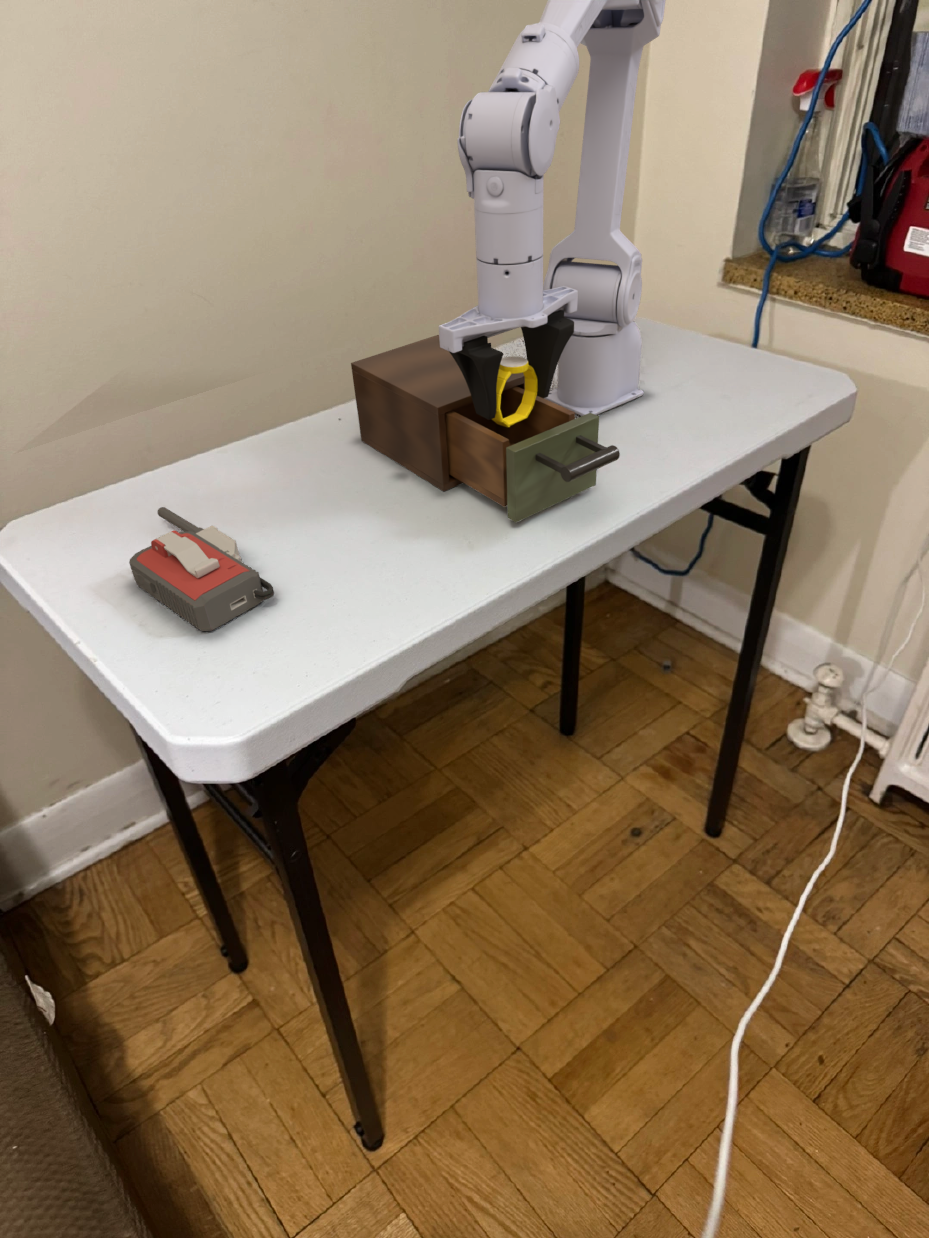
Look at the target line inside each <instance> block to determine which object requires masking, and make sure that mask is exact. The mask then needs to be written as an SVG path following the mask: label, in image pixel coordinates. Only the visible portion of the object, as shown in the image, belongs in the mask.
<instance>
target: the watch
mask: <svg viewBox="0 0 929 1238" xmlns="http://www.w3.org/2000/svg"><path fill="white" fill-rule="evenodd" d="M522 372H523V374H524V377H525V391H524V395H523V398H522V402H521V404H520V406H519V407H518V409H517V411H516V412H515V414H512V415H510V416H508V417H506V418H503V417H502V413H501V410H500V404H501V394H502V391H503V388H504V386H505V383H506V381H507V379H508V378H509V377H510V375H511V374H517V373H522ZM536 396H537V376H536V374H535V371H534V369H533V367H531V366H530V365H528V360H527V358H525V357H522V356H515V355H514V356H510V355H509V356H505V357H502V360H501V363H500V367H499V371H498V377H497V387H496V414H495V418H493V419H492V420H493V421H494V422H496V423H497V424H499V425H502V426H505V427H510V426H511V425H514V424H515V423H517V422H520V421H522V420H524V419H526V418H527V417H528V415H529V414H530V412H531V410H532V409H533V406H534V403H535V400H536Z"/></svg>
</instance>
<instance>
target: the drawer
mask: <svg viewBox="0 0 929 1238" xmlns="http://www.w3.org/2000/svg"><path fill="white" fill-rule="evenodd" d="M524 391H525V390H524V389H522V388H519V387H517V386H515V387H512V388H510V389H507V390H504V391H502V394H501V404H500V410H501V413H502V417H503V418H506V417H508V416H510V415H512V414H515V412H516V411H517V409H518V407H519V406H520V404H521V402H522V398H523V395H524ZM445 426H446V441H447V455H448V469H449V475H451V476H453V477H454V478H456V479H458V480H459V481H461V482H463V484H465V485H466V486H467V487H469V488H471V489H473V490H475V491H476V492H478V493H480V494H482V495H483V496H485V497H486V498H488V499H490V500H492V501H493V502H495V503H497V504H498V505H500V506H501V507H504V508H506V507H507V508H506V509H507V519H509V520H510V521H512V522H514V523H515V524H516V523H519V522H520V521H523V520H525V519H527V518H529V517H531V516H533V515H535V514H537V513H540V512H542V511H544V510H546V509H548V508H550V507H552V506H554V505H557V504H559V503H561V502H563V501H565V500H567V499H569V498H571V497H574V496H575V495H577V494H580V493H582V492H585V491H586V490H589V489H591V488H593V487H595V486H596V485H597V470H598V469H601V468H602V467H605V466H607V465H608V464H612V463H614V462H617V460H619V458H620V456H621V454H620V453H621V452H620V449H619V448H618V447H617V446H616V445H613V444H612V445H609V446H604V445H602V444H600V443H599V431H600V429H599V428H600V416H599V415H598V414H597V415H595V414H592V413H588V414H586V415H583V416H579V417H576V413H575V412H573V411H571V410H569V409H566V408H564V407H562V406H560V405H557V404H555V403H553V402H551V401H549V400H546V399H544V398H541V397H539V396H536V400H535V403H534V406H533V409H532V410H531V412H530V414H529V415H528V417H527V418H526V419H524V420H522V421H520V422H517V423H515V424H514V425H511V426H510V427H505V426H502V425H499V424H497V423H496V422H494V421H493V420H492V419H490V420H488V419H486V418H484V417H482V416H480V415H478V414H476V411H475V407H474V404H473V402H472V403H470V404H467V405H464V406H462V407H459V408H457V409H454V410H451V411H449V412H446V413H445Z"/></svg>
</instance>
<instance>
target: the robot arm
mask: <svg viewBox="0 0 929 1238" xmlns="http://www.w3.org/2000/svg"><path fill="white" fill-rule="evenodd" d="M666 1H667V0H547V1H546V4H545V6H544V8H543V12H542V14H541V16H540V19H539V21H538V22H536V23H531V24H526V25H525V27H524V28H523V29H522V30H521V31H520V33H519V34H517V37H516V38H515V40H514V42H513V45H512V46H511V48H510V50H509V52H508V53H507V56H506V57H505V59H504V62H503V63H502V65H501V67H500V69H499V70H498V72H497V74H496V76H495V78H494V80H493V81H492V83H491V85H490V87H489V89H488V91H481V92H477V93H476V94H475V95H474V96H473V98H472V99H469V100H468V101H467V102H466V103H465V105H464V106H463V108H462V111H461V115H460V119H459V123H458V125H459V126H458V137H457V138H456V141H457V142H456V143H457V151H458V156H459V160H460V163H461V166H462V168H463V170H464V175H465V183H466V192H467V193H468V197H469V198H471V199H472V200H473V212H474V213H473V215H474V237H475V260H476V261H475V263H476V282H477V283H476V285H477V286H476V287H477V305H476V306H474V307H472V308H471V309H469V310H467V311H466V312H463V313H462V314H460V315H459V316H457V317H455V318H453V319H452V320H450V321H447V322H445V323H442V324H439V325H438V335H439V340H440V347H441V348H443V349H445V350H447V351H449V352H450V354H451V355H452V357H453V358H454V360H455V361H456V363H457V365H458V366H459V368H460V370H461V372H462V374H463V376H464V378H465V380H466V383H467V385H468V388H469V391H470V394H471V397H472V400H473V404H474V407H475V411H476V414H478V415H480V416H482V417H484V418H486V419H488V420H490V419H493V418H495V414H496V387H497V377H498V371H499V367H500V363H501V360H502V358H504V357H503V356H504V352H503V351H501V350H498V349H495V348H493V347H492V342H489V339H488V338H492V337H496V336H498V335H502V334H504V333H507V332H509V331H513V330H516V329H519V328H520V329H521V333H522V338H523V342H524V348H525V354H526V359H527V360H528V365H530V366H531V367H533V369H534V371H535V374H536V376H537V396H539V397H541V398H544V399H546V400H549V401H551V402H553V403H555V404H557V405H560V406H562V407H564V408H566V409H569V410H571V411H573V412H575V415H577V416H579V417H581V416H583V415H586V414H588V413H592V414H595V415H597V416H598V415H599V414H602V413H604V412H606V411H608V410H612V409H614V408H616V407H618V406H621V405H624V404H626V403H628V402H630V401H633V400H635V399H638V398H640V397H642V396H644V390H642V389H641V388H639V387H640V386H639V385H640V374H641V373H640V372H641V361H642V346H643V341H642V335H641V331H640V329H639V326H638V324H637V323H636V322H635V318H636V317H637V314H638V312H639V309H640V304H641V298H642V292H643V291H642V290H643V278H642V267H643V266H642V265H643V258H642V253H641V251H640V250H639V249H638V247H637V245H635V244H633V242H632V241H631V240H630V239H629V238H628V237H627V236H626V235H625V234H624V233H623V232H622V231H621V222H622V221H621V220H622V211H623V204H624V196H625V189H626V188H625V187H626V178H627V170H628V161H629V154H630V146H631V136H632V128H633V127H632V126H633V118H634V109H635V102H636V93H637V92H636V91H637V83H638V76H639V70H640V63H641V60H642V55H643V50H644V47H645V46H647V44H650V43H651V42H652V41H654V40H656V39H657V38H658V37H660V34H661V27H662V24H663V22H664V17H665V10H666ZM580 44H581V45H582V46H584V47H586V49H587V53H588V55H589V58H590V59H589V60H590V61H589V72H588V82H587V93H586V103H585V112H584V113H585V114H584V123H583V124H584V125H583V126H584V127H583V133H582V134H583V135H582V147H581V155H580V167H579V178H578V187H577V197H576V208H575V209H576V210H575V217H574V228H573V229H574V230H573V231H572V232H571V233H569V234H568V235H566V236H565V237H564V238H562V239H561V240H560V241H558V242H557V243H556V244H555V245H554V246H553V247H552V248H551V250H550V254H549V258H548V259H549V260H548V266H547V271H546V274H545V277H544V193H545V192H544V190H545V189H544V187H545V185H544V184H545V182H544V181H545V180H544V179H545V177H544V175H545V174H546V173H547V171H548V170H549V168H550V167H551V165H552V162H553V159H554V155H555V150H556V145H557V144H556V142H557V137H558V133H559V131H560V125H561V117H560V112H561V110H562V107H563V105H564V103H565V101H566V99H567V97H568V96H569V93H570V91H571V89H572V87H573V85H574V83H575V81H576V78H578V74H579V71H580V56H579V51H578V47H579V46H580ZM575 259H583V260H594V261H606V262H607V261H608V262H612V263H614V264H604V263H594V262H593V263H592V262H580V261H573V260H575ZM556 370H557V388H554V389H552V390H551V388H552V383H553V380H554V377H555V373H556Z"/></svg>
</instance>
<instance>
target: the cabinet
mask: <svg viewBox="0 0 929 1238" xmlns="http://www.w3.org/2000/svg"><path fill="white" fill-rule="evenodd" d="M350 368H351V374H352V375H351V376H352V381H353V389H354V396H355V404H356V410H357V412H356V413H357V418H358V426H359V433H360V441H361V442H363V443H364V444H366V445H367V446H369V447H370V448H371V449H374V450H375V451H377V452H379V453H381V454H382V455H384V456H385V457H387V458H388V459H390V460H392V461H393V462H395V463H397V464H398V465H400V466H401V467H403V468H405V469H406V470H408V471H409V472H411V473H413V474H415V475H416V476H418V477H419V478H421V479H422V480H424V481H425V482H427V483H429V484H431V485H432V486H434V487H435V488H437V489H439V490H440V491H442V492H446V491H449V490H452V489H454V488H456V487H458V486H460V485H463V484H464V483H463V482H461V481H459V480H458V479H456V478H454V477H453V476H451V475H449V469H448V455H447V441H446V426H445V413H446V412H449V411H451V410H454V409H457V408H459V407H462V406H464V405H467V404H470V403H472V402H473V400H472V397H471V394H470V391H469V388H468V385H467V383H466V380H465V378H464V376H463V374H462V372H461V370H460V368H459V366H458V365H457V363H456V361H455V360H454V358H453V357H452V355H451V354H450V352H449V351H447V350H445V349H443V348H441V347H440V340H439V334H435V335H434V336H430V337H426V338H423V339H421V340H418V341H414V342H412V343H408V344H406V345H402V346H399V347H396V348H393V349H390V350H386V351H383V352H381V353H378V354H373V355H370V356H368V357H365V358H362V359H359V360H356V361H352V362H350ZM515 386H517V387H519V388H522V389H524V390H525V377H524V374H523V372H522V373H517V374H511V375H510V377H509V378H508V379H507V381H506V383H505V386H504V388H503V391H504V390H507V389H510V388H512V387H515Z"/></svg>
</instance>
